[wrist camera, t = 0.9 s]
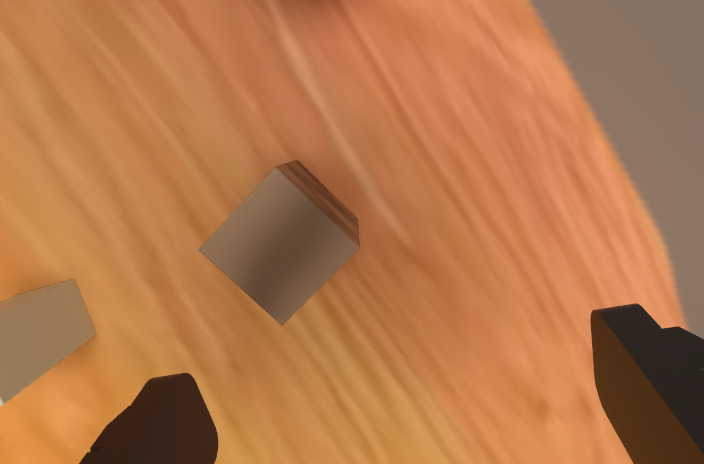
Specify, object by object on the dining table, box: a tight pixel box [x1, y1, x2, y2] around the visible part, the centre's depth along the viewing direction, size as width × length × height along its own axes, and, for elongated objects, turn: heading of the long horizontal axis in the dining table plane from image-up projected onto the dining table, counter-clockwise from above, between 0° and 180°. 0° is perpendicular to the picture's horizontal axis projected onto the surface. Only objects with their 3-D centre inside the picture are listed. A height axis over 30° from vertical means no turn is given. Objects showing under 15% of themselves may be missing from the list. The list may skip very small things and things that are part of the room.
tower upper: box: [199, 163, 360, 325], centre depth 28 cm, size 6×6×5 cm
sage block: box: [0, 279, 96, 405], centre depth 32 cm, size 4×4×10 cm
